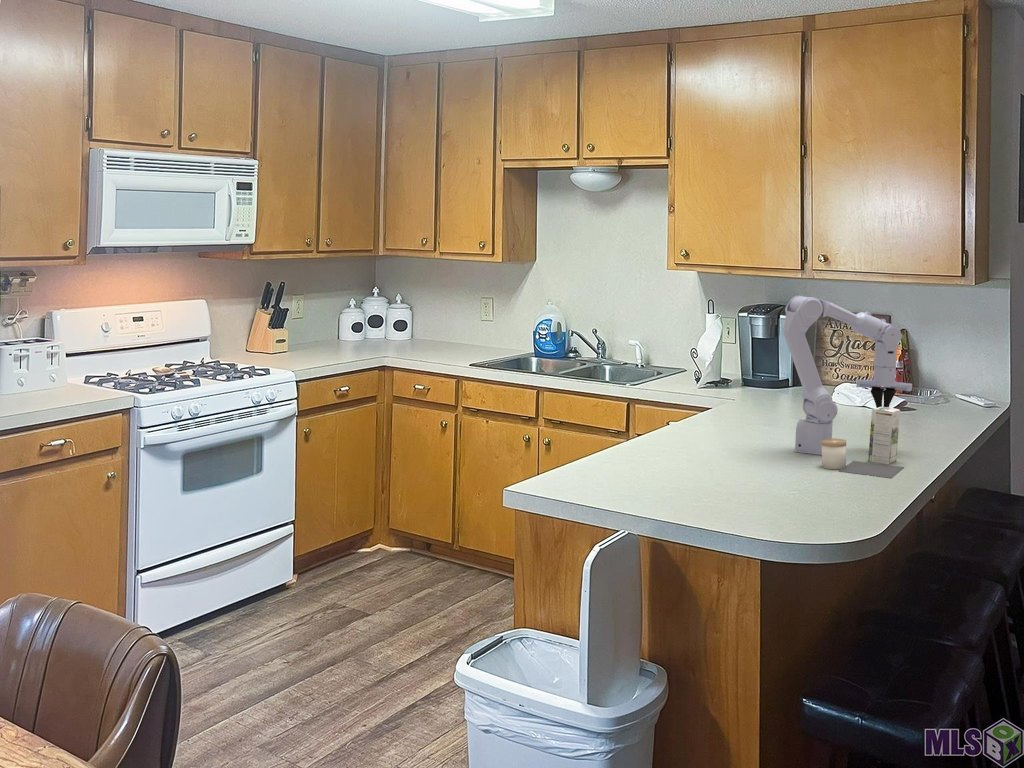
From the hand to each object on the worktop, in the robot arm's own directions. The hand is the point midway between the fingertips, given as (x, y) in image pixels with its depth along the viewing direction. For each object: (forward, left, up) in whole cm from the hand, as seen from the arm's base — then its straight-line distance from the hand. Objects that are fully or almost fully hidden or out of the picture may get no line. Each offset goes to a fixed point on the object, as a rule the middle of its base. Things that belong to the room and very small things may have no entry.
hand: (882, 414), depth 277 cm
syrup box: (+4, -14, -11) cm, 18 cm away
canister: (-5, -28, -10) cm, 30 cm away
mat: (+4, -26, -10) cm, 28 cm away
